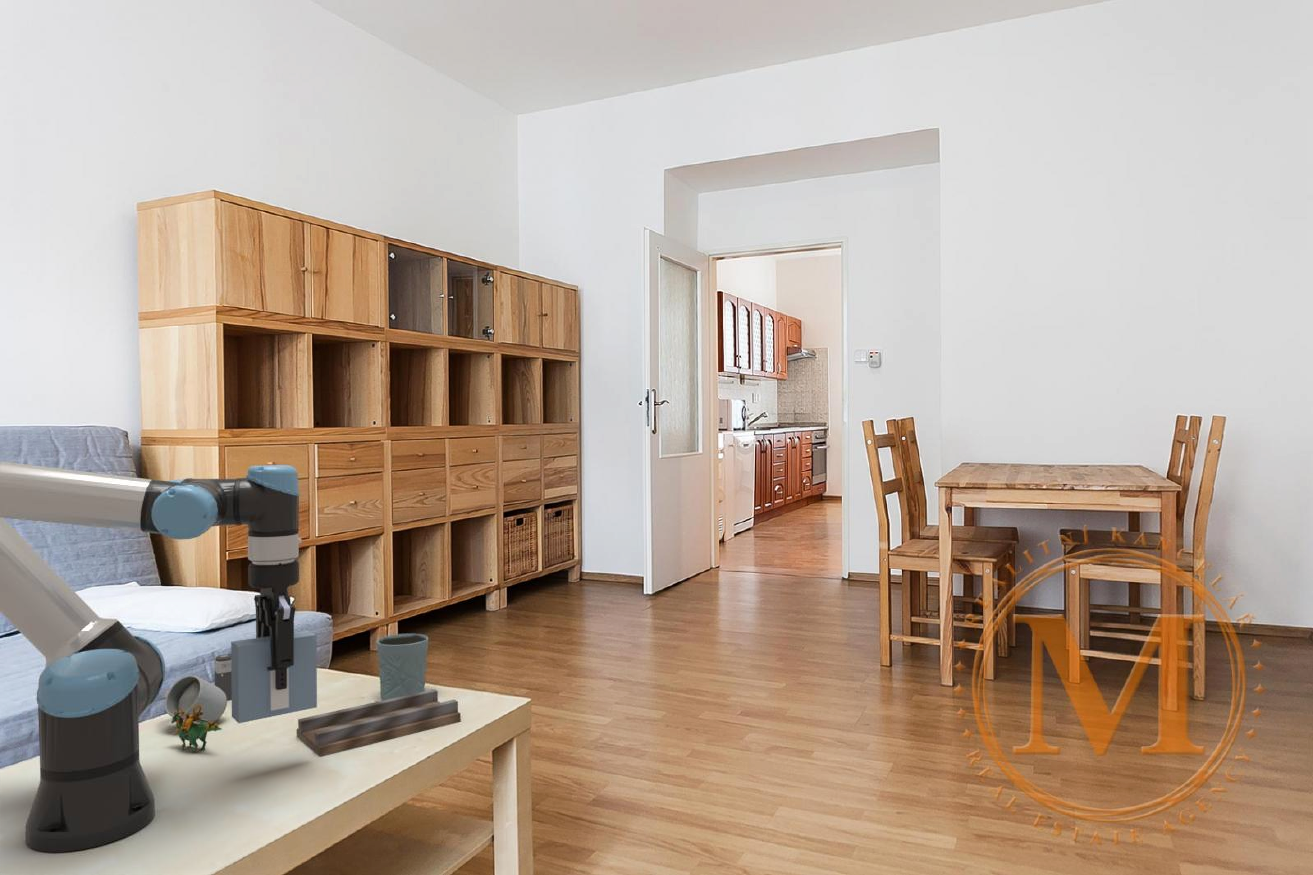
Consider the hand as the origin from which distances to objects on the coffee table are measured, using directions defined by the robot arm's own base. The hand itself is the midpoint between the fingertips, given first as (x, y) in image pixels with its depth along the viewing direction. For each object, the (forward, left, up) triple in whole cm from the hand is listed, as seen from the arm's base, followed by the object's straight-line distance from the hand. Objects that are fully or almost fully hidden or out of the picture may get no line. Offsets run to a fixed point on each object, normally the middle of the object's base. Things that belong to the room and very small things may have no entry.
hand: (274, 704), depth 141 cm
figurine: (-8, +17, -11) cm, 22 cm away
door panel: (0, 0, -1) cm, 1 cm away
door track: (+20, +7, -11) cm, 24 cm away
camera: (+9, +41, -11) cm, 44 cm away
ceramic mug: (-6, +32, -11) cm, 34 cm away
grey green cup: (+31, +22, -11) cm, 40 cm away
